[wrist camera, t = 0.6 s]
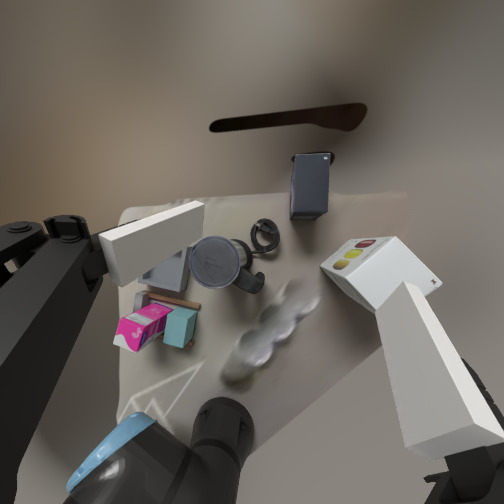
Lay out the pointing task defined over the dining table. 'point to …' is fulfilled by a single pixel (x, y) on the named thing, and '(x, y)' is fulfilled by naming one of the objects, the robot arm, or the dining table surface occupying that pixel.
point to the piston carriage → (179, 327)
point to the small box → (309, 186)
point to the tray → (170, 272)
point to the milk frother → (230, 260)
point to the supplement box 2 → (377, 270)
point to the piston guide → (144, 299)
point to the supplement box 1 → (141, 327)
